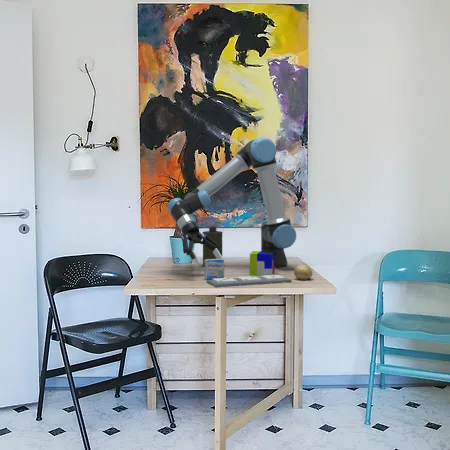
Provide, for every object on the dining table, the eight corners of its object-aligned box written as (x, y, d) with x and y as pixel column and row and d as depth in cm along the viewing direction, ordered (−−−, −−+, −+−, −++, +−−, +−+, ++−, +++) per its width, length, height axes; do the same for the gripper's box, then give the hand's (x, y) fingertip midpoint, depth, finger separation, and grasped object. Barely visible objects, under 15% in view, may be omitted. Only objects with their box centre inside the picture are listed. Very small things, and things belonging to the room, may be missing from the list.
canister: (221, 267, 283) (220, 227, 282) (200, 266, 285) (200, 227, 283) (224, 264, 294) (224, 226, 292) (204, 263, 295) (204, 225, 294)
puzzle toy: (271, 276, 255) (271, 254, 255) (249, 275, 257) (249, 253, 257) (274, 272, 265) (274, 251, 265) (253, 272, 267) (253, 251, 267)
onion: (315, 280, 243) (315, 264, 243) (297, 281, 241) (297, 265, 241) (308, 277, 251) (308, 261, 250) (291, 278, 249) (291, 262, 249)
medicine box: (206, 280, 245) (206, 260, 245) (204, 278, 249) (204, 259, 249) (224, 279, 247) (224, 259, 247) (221, 277, 252) (221, 258, 251)
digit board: (279, 277, 250) (279, 273, 250) (291, 282, 239) (291, 277, 239) (206, 282, 239) (206, 278, 239) (215, 287, 228) (215, 282, 227)
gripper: (204, 230, 269) (226, 265, 259) (163, 233, 252) (184, 270, 242) (212, 220, 265) (234, 254, 255) (170, 222, 247) (192, 259, 238)
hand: (210, 262), depth 248 cm, fingers open, 13 cm apart
